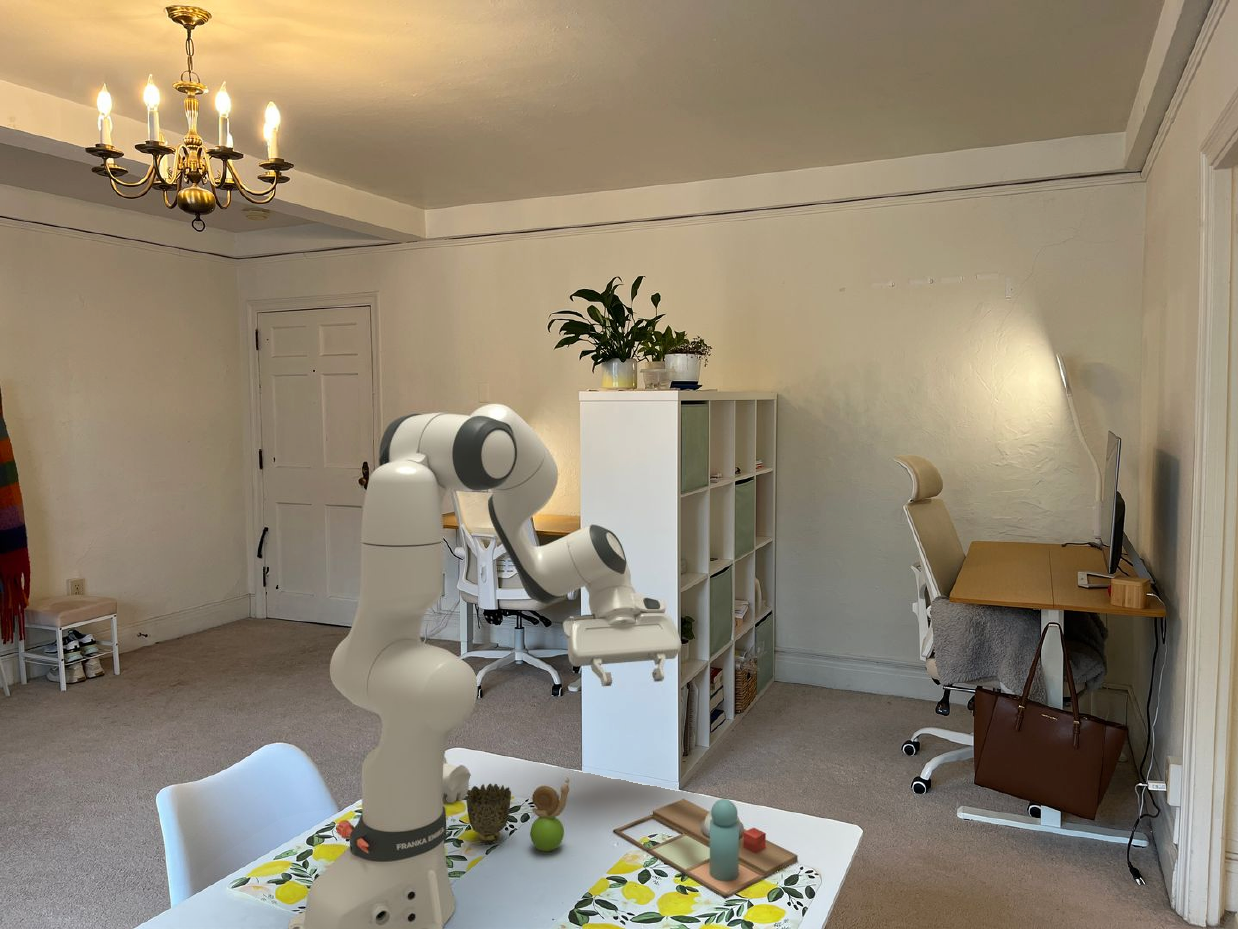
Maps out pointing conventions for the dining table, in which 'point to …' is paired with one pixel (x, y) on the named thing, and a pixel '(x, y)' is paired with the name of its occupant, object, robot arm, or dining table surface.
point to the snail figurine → (548, 817)
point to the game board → (694, 848)
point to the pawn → (724, 841)
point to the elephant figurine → (455, 781)
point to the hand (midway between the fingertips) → (633, 682)
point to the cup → (488, 811)
